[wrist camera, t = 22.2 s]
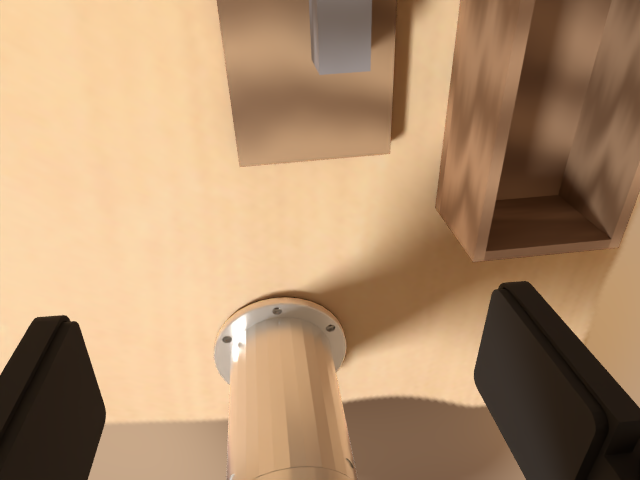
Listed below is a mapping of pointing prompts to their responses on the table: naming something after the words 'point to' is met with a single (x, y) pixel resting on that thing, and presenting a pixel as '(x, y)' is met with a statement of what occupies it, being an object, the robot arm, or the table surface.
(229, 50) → the lid
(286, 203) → the table surface
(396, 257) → the table surface
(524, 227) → the toolbox
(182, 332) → the table surface
